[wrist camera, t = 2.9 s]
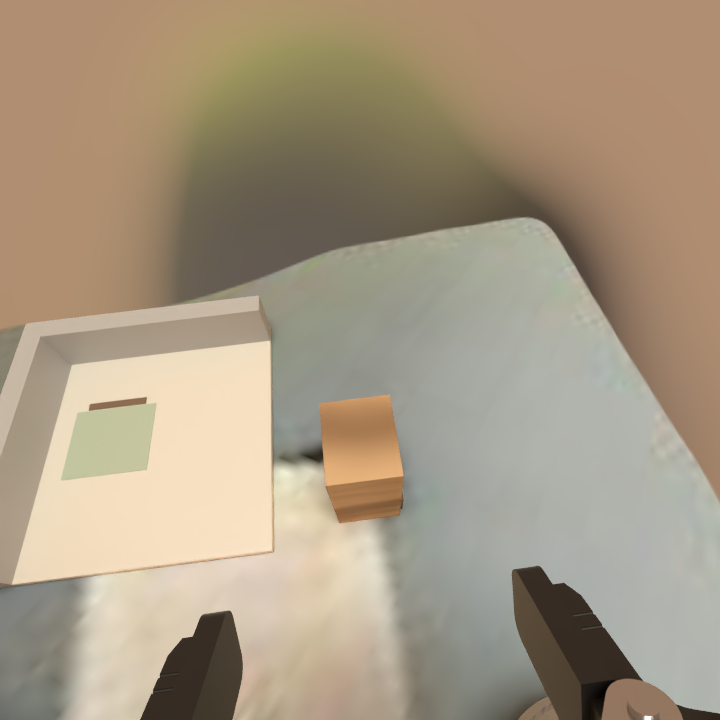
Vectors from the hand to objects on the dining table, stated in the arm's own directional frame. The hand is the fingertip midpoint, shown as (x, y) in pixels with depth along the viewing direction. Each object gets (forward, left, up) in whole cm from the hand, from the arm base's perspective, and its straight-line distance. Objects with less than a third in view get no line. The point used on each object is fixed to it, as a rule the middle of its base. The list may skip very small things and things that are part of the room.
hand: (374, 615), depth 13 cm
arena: (+16, +17, -19) cm, 30 cm away
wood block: (+10, 0, -19) cm, 22 cm away
